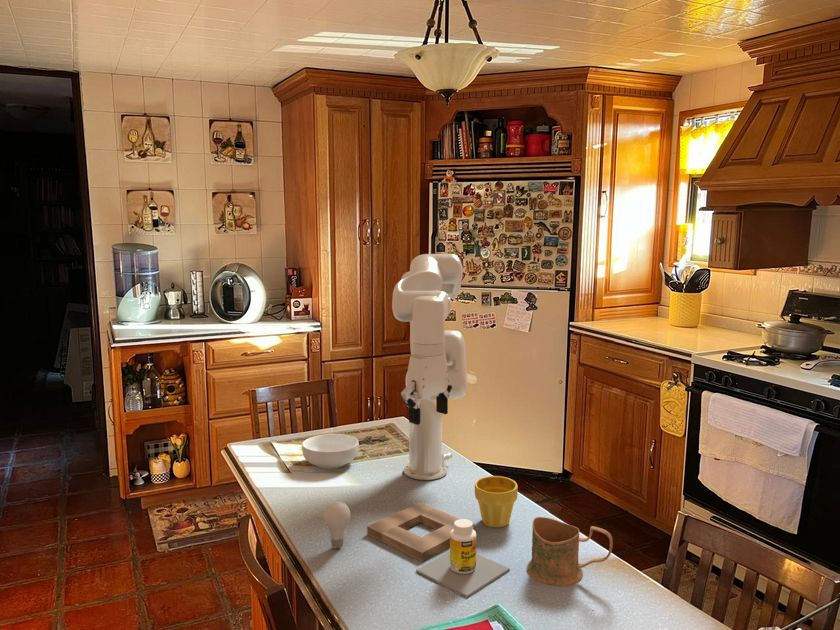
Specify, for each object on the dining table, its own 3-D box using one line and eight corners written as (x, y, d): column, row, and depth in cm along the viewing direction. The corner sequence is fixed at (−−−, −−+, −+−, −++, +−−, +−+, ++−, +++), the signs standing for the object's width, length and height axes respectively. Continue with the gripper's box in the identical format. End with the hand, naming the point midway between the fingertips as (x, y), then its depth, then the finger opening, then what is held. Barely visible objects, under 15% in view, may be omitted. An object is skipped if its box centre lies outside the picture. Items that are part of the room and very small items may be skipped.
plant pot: (488, 535, 159) (488, 495, 157) (466, 517, 168) (467, 479, 166) (525, 526, 163) (526, 487, 161) (502, 509, 172) (502, 472, 171)
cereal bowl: (370, 461, 205) (369, 438, 204) (335, 479, 192) (334, 455, 190) (327, 450, 214) (326, 429, 213) (290, 467, 201) (289, 444, 199)
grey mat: (459, 547, 153) (459, 545, 153) (509, 570, 143) (509, 568, 143) (416, 571, 143) (416, 569, 143) (467, 597, 133) (467, 595, 133)
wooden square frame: (420, 509, 172) (420, 502, 172) (474, 532, 160) (474, 524, 159) (367, 534, 159) (367, 526, 159) (422, 561, 147) (422, 552, 147)
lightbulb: (356, 544, 154) (355, 499, 153) (342, 557, 149) (340, 510, 147) (333, 539, 157) (332, 494, 155) (318, 551, 151) (317, 505, 150)
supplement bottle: (460, 578, 139) (460, 531, 138) (444, 566, 144) (444, 521, 142) (481, 570, 142) (481, 524, 141) (465, 558, 147) (465, 514, 145)
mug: (601, 601, 132) (603, 544, 130) (518, 576, 141) (519, 522, 139) (618, 574, 141) (620, 520, 140) (539, 552, 151) (540, 501, 149)
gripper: (440, 340, 167) (440, 405, 171) (391, 352, 155) (391, 423, 158) (464, 344, 162) (463, 412, 166) (414, 358, 150) (415, 431, 153)
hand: (428, 418), depth 162 cm, fingers open, 9 cm apart
